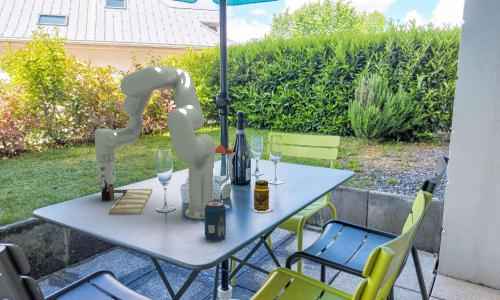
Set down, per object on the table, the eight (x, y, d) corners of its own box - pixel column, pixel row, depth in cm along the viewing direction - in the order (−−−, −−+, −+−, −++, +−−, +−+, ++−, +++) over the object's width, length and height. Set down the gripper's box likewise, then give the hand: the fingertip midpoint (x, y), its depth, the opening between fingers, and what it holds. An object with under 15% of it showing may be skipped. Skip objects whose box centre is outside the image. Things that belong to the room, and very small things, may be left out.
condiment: (257, 213, 145) (257, 184, 143) (248, 207, 153) (248, 179, 151) (273, 211, 148) (274, 182, 146) (263, 205, 156) (264, 177, 154)
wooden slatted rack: (140, 213, 143) (140, 210, 143) (109, 214, 142) (108, 210, 142) (152, 191, 173) (152, 188, 172) (126, 192, 171) (125, 189, 171)
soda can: (209, 232, 126) (209, 199, 124) (228, 235, 124) (228, 201, 122) (201, 240, 120) (200, 205, 117) (221, 243, 118) (221, 207, 116)
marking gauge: (125, 200, 159) (124, 187, 158) (101, 201, 158) (100, 187, 157) (128, 197, 164) (127, 184, 163) (104, 197, 163) (104, 184, 162)
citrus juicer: (198, 180, 193) (198, 143, 189) (230, 178, 199) (230, 141, 195) (205, 188, 179) (205, 148, 175) (239, 185, 184) (239, 146, 181)
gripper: (109, 161, 150) (111, 204, 153) (119, 153, 166) (121, 192, 169) (90, 161, 149) (93, 204, 152) (102, 153, 165) (104, 192, 169)
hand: (108, 197), depth 161 cm, fingers closed on marking gauge, 5 cm apart
